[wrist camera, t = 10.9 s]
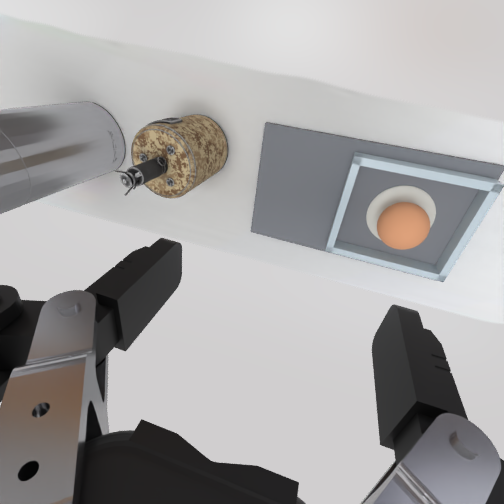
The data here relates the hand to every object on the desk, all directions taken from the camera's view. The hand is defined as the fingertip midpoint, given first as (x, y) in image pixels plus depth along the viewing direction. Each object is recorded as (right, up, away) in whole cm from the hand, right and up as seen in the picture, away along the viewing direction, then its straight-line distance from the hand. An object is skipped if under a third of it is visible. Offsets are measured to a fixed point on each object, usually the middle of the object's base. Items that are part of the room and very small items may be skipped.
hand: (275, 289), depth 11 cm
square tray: (+16, +6, +22) cm, 27 cm away
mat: (+11, +7, +23) cm, 27 cm away
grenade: (-7, +15, +25) cm, 30 cm away
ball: (+16, +5, +22) cm, 27 cm away
